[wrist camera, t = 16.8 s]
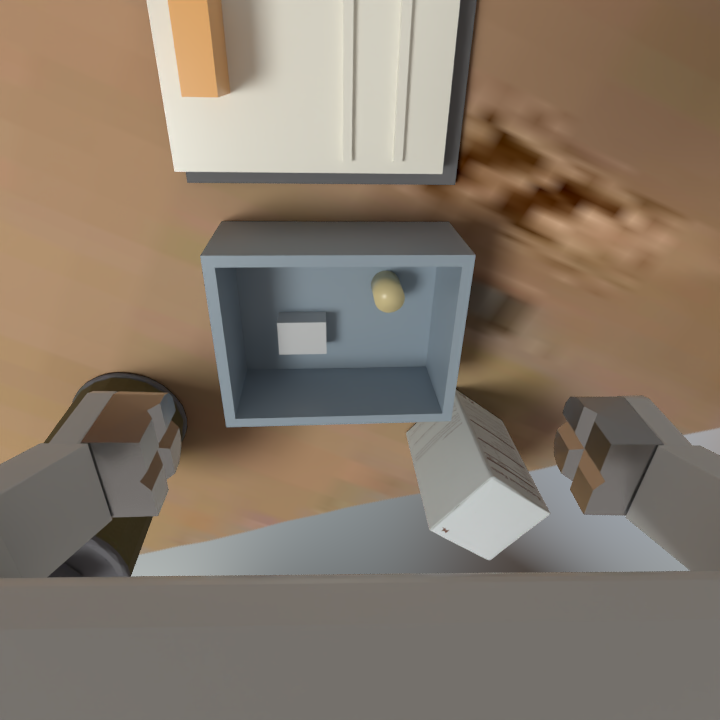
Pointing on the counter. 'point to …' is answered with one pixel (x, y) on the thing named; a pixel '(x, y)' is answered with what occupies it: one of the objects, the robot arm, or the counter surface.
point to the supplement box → (474, 480)
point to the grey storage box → (337, 320)
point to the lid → (306, 84)
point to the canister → (122, 534)
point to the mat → (445, 178)
